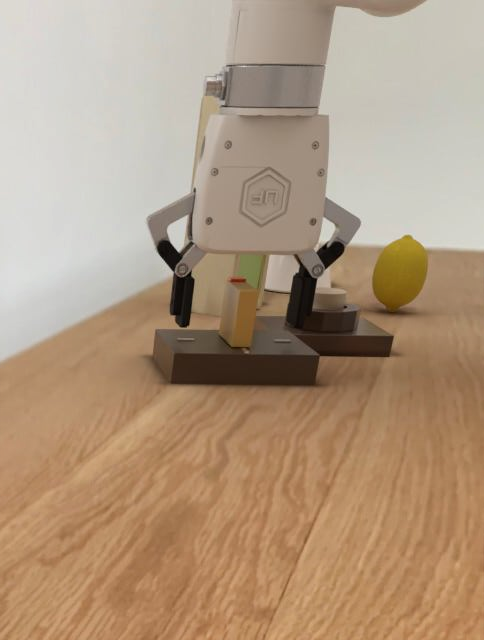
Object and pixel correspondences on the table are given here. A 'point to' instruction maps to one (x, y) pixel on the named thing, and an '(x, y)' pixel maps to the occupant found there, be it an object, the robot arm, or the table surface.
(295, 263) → the inkwell
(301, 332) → the block
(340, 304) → the bell button
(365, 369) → the table surface
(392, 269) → the lemon
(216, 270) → the toy refrigerator
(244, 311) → the lock knob
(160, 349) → the plate
